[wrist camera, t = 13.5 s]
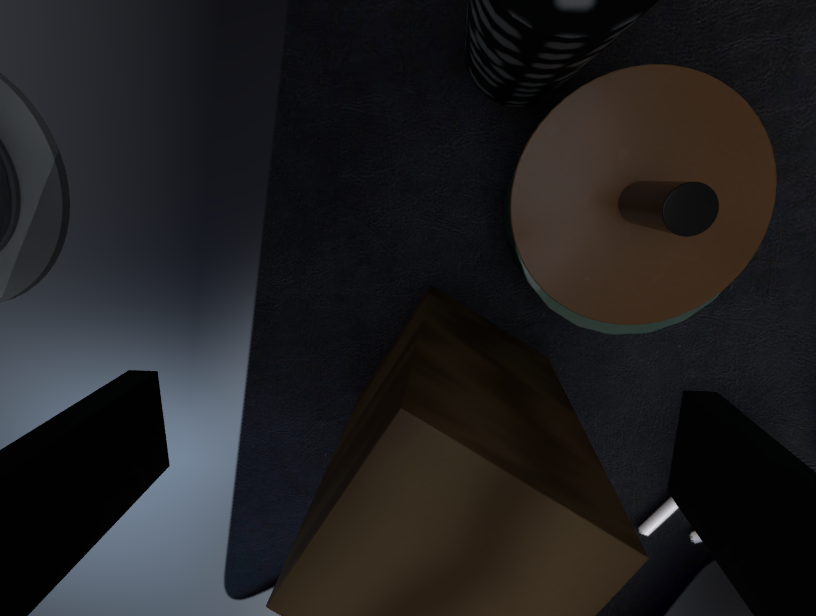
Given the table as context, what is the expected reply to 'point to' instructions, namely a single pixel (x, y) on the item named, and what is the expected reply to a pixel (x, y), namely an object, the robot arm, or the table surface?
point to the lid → (643, 194)
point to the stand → (460, 489)
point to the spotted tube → (539, 42)
